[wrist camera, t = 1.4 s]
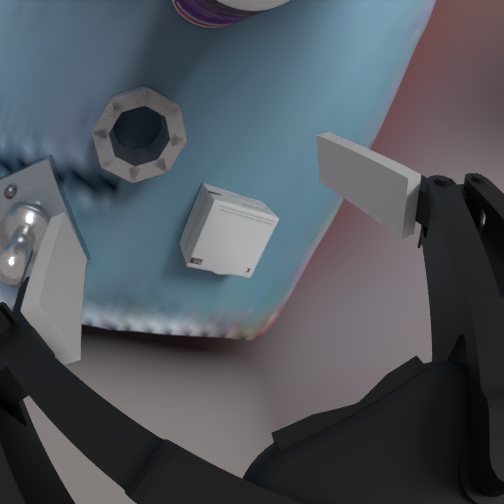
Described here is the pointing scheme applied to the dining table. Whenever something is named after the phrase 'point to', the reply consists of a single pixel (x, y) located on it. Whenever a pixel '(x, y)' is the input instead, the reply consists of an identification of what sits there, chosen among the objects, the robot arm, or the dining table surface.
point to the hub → (148, 157)
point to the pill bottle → (222, 10)
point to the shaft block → (29, 217)
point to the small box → (226, 232)
